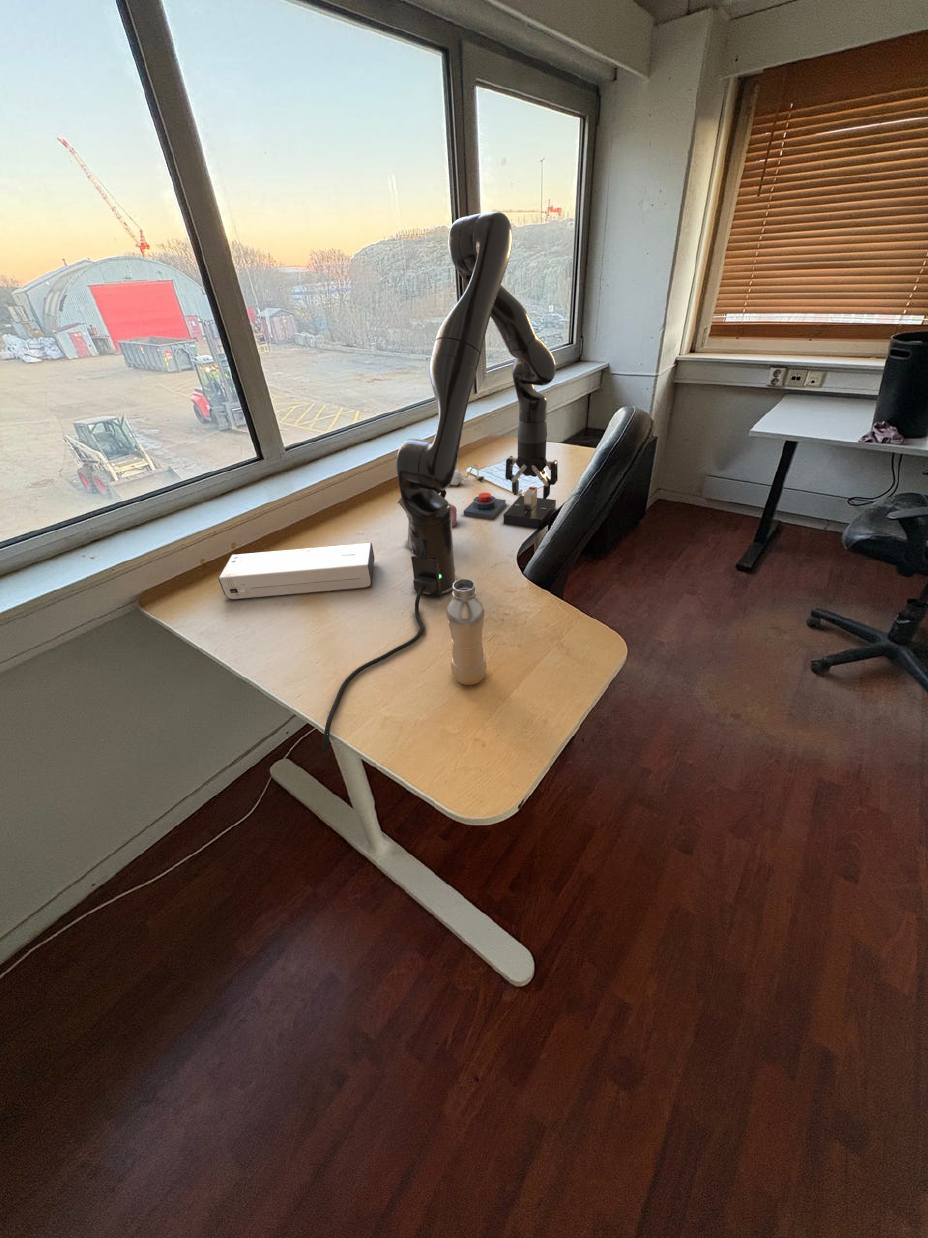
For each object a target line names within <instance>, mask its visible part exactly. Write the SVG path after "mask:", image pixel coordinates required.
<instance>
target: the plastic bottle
mask: <svg viewBox="0 0 928 1238" xmlns="http://www.w3.org/2000/svg"><path fill="white" fill-rule="evenodd" d="M446 620H447V623H448V627H449V630H450V635H451V636H450V637H451V644H452V646H451V647H452V648H451V649H452V651H451V660H450V670H451V674H452V676H453V678H454V679H455V680H456V681H457V682H458V683H460V684H461V685H464V686H465V685H466V686H472V685H476V684H478V683H479V682H481V681H482V680H483V679H484V678H485V676H486V674H487V666H488V665H487V660H486V656H485V653H484V646H483V629H484V621H485V607H484V605H483V603H482V602H481V601H480V600H479V598H477V591H476V583H475V582H474V580H472V579H470V578H460V579H456V581H455V582H454V583H453V590H452V599H451V601H450V602H449V604H448V606H447V608H446Z"/></svg>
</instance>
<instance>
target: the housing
mask: <svg viewBox="0 0 928 1238" xmlns="http://www.w3.org/2000/svg"><path fill="white" fill-rule="evenodd" d="M506 505H507V501H506V499H502V498H501V499H500V498H496V497H495V496H493V495H491V501H490V502H479V495H478V496H475V497H474V498H473V500H472V502H471V503H470V504H469V505H468V506H467V507H466V508H464V510H463V517H469V518H476V519H483V520H490V521H493V520H494V519H495V518H496V517H497V515H498V514H499V513H500V512H501V511H502V510H503V509H504V507H506Z"/></svg>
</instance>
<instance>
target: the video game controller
mask: <svg viewBox="0 0 928 1238" xmlns="http://www.w3.org/2000/svg"><path fill="white" fill-rule="evenodd" d="M448 503H449V504H450V509H451V523H452V528H454V527H456V526H457V525H456V524H457V518H458V513H457V511H458V510H457V506H455V504H452V503H450V502H448Z"/></svg>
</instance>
